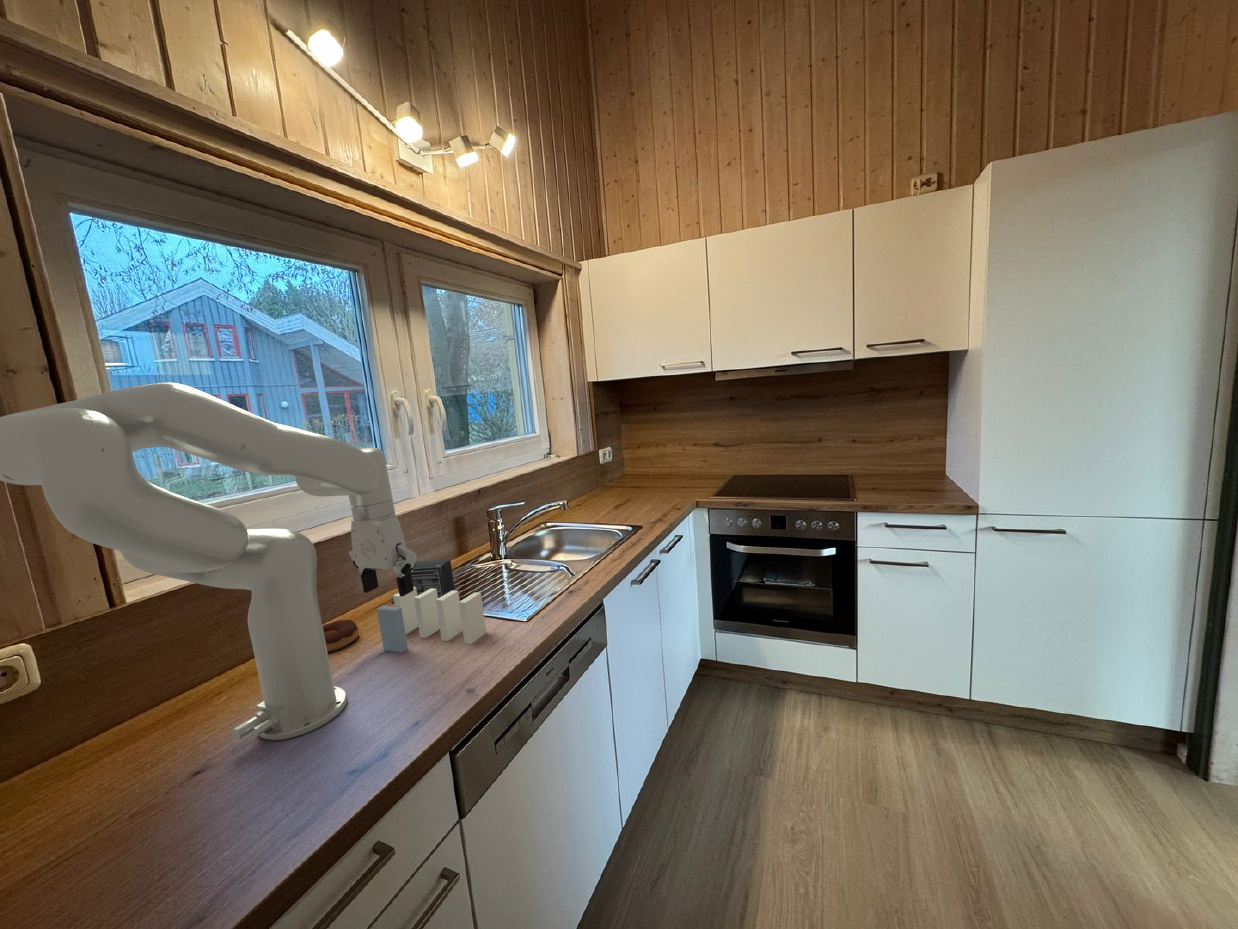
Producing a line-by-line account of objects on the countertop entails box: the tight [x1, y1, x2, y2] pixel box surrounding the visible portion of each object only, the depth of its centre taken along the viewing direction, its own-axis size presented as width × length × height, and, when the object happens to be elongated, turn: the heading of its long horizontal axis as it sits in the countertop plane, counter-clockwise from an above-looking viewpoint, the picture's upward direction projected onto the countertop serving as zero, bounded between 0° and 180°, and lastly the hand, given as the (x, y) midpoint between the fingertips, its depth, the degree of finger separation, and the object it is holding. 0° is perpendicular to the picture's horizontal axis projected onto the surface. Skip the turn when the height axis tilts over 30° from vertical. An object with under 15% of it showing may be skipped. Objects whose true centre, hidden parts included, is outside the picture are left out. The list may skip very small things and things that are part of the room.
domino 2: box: [392, 587, 419, 635], centre depth 110 cm, size 2×5×9 cm, turn 158°
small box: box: [400, 558, 456, 598], centre depth 124 cm, size 11×6×10 cm, turn 84°
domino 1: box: [376, 605, 409, 654], centre depth 101 cm, size 2×5×9 cm, turn 68°
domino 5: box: [459, 591, 487, 645], centre depth 103 cm, size 2×5×9 cm, turn 158°
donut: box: [322, 619, 359, 653], centre depth 107 cm, size 10×10×4 cm
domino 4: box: [436, 589, 463, 642], centre depth 105 cm, size 2×5×9 cm, turn 158°
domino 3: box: [414, 588, 440, 639], centre depth 108 cm, size 2×5×9 cm, turn 158°
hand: (388, 591), depth 101 cm, fingers open, 9 cm apart
